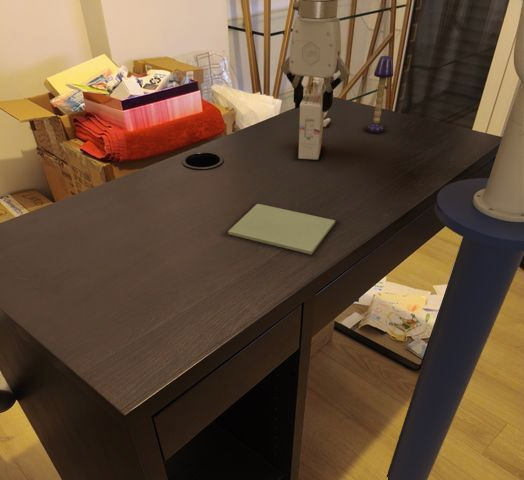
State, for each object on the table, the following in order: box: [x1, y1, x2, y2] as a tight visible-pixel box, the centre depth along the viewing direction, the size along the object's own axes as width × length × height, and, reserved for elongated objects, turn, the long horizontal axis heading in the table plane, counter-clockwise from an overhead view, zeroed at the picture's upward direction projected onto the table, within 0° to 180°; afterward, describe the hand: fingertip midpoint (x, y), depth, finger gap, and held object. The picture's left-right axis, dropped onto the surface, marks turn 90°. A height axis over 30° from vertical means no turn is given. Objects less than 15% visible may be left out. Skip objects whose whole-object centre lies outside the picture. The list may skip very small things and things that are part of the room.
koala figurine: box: [311, 77, 336, 128], centre depth 123 cm, size 8×7×12 cm
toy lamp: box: [366, 55, 394, 134], centre depth 119 cm, size 5×5×17 cm
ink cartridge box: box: [297, 81, 325, 161], centre depth 108 cm, size 9×5×15 cm, turn 169°
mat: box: [227, 203, 336, 255], centre depth 87 cm, size 16×12×1 cm
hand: (312, 107), depth 106 cm, fingers closed on ink cartridge box, 5 cm apart
